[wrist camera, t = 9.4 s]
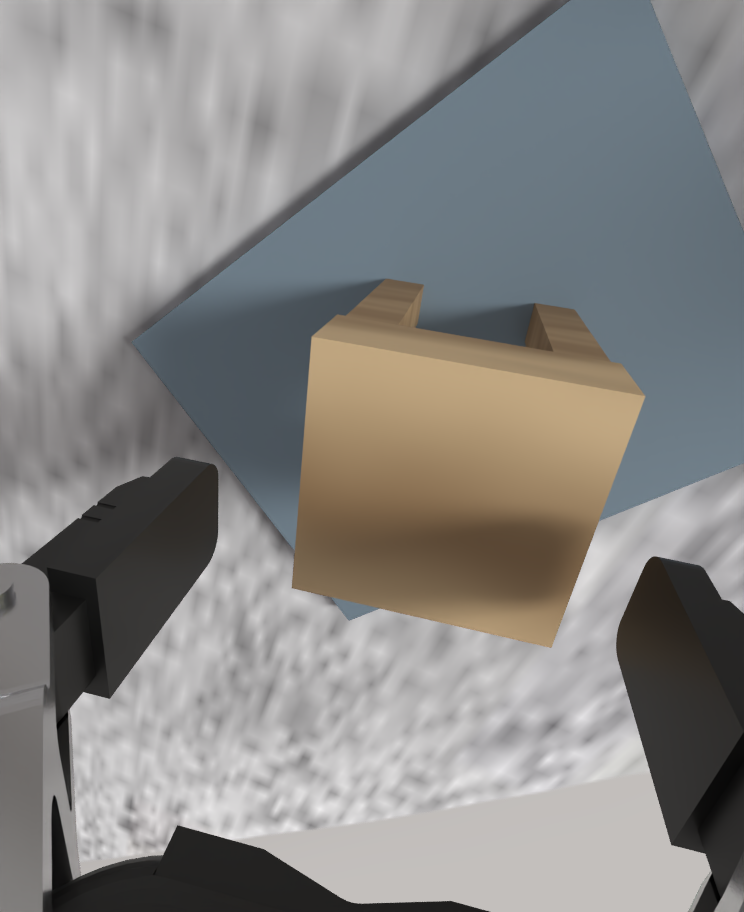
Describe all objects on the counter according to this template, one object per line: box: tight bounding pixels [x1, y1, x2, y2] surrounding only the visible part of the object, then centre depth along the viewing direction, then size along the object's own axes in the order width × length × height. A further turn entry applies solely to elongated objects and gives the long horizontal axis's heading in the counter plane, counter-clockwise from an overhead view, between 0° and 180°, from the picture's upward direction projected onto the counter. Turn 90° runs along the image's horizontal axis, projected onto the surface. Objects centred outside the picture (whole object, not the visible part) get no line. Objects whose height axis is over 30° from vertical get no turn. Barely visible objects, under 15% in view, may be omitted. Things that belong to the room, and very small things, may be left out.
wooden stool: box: [292, 279, 645, 648], centre depth 15 cm, size 6×6×8 cm
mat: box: [132, 0, 744, 621], centre depth 19 cm, size 18×14×1 cm
